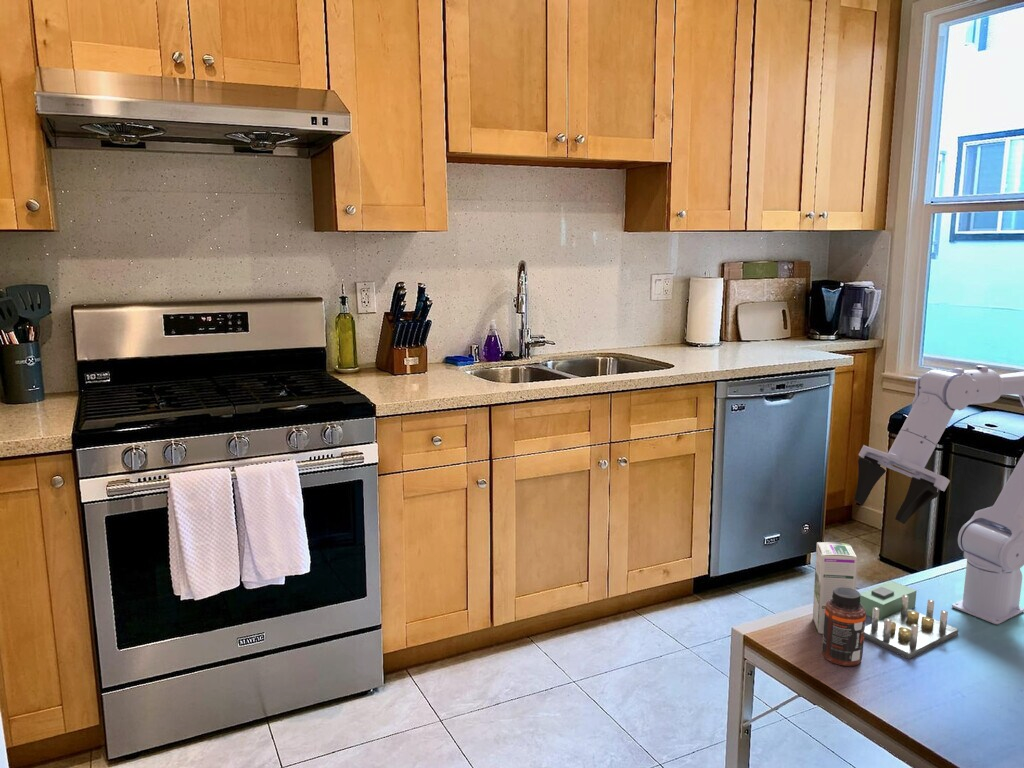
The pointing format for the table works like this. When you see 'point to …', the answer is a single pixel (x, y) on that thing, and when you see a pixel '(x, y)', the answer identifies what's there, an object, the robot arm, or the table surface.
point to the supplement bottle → (844, 627)
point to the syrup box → (831, 575)
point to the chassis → (909, 630)
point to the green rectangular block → (887, 599)
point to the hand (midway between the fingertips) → (878, 511)
